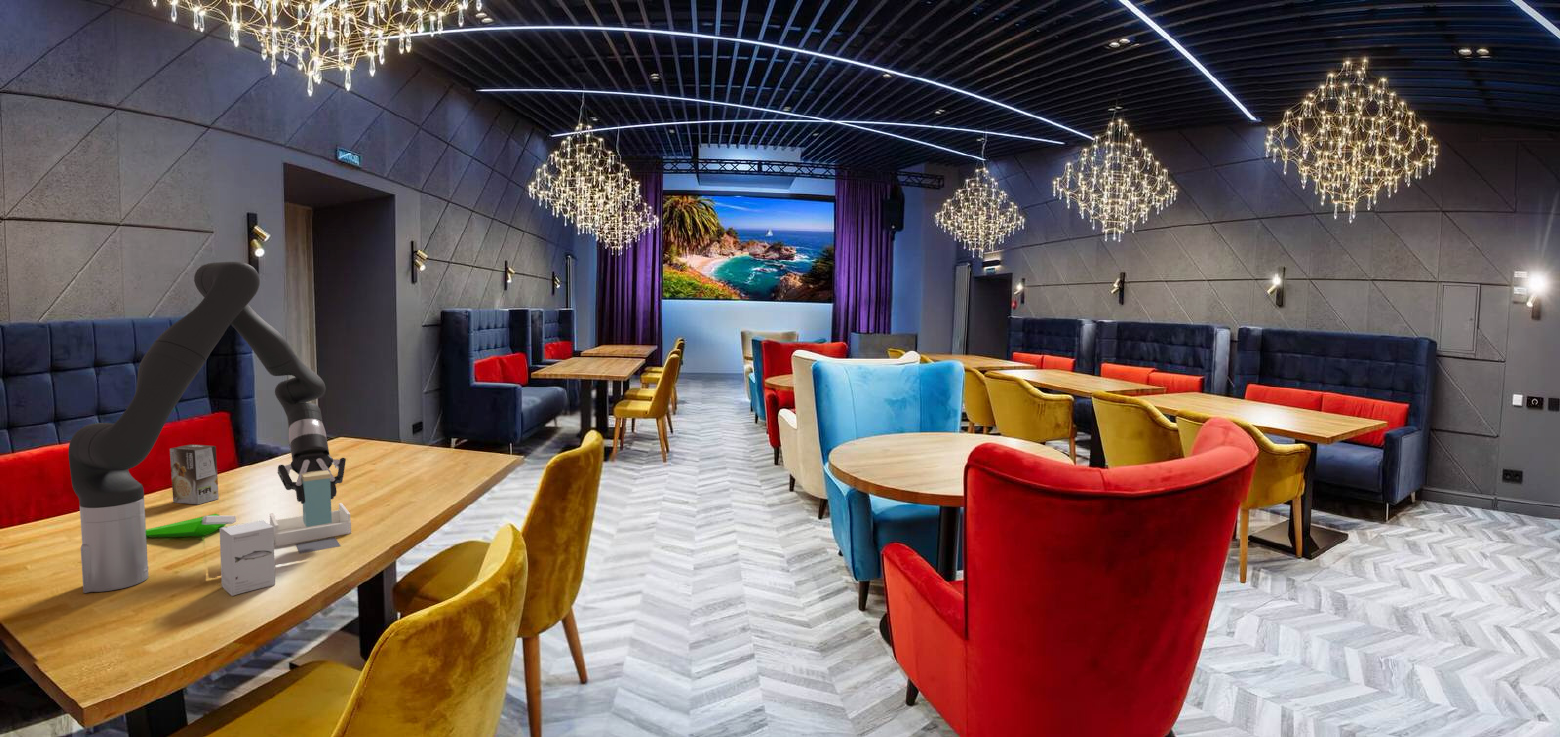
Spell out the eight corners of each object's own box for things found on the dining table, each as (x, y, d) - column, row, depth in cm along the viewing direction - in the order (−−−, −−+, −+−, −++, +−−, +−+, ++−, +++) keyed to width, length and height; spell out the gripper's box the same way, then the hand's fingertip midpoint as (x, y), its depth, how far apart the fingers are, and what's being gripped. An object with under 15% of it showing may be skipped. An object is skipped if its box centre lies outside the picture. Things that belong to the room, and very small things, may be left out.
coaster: (299, 555, 151) (299, 553, 151) (295, 546, 157) (295, 543, 157) (340, 548, 157) (340, 545, 157) (334, 539, 163) (334, 536, 163)
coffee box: (220, 498, 193) (217, 445, 192) (197, 505, 187) (195, 450, 186) (194, 496, 195) (191, 443, 193) (171, 502, 189) (168, 448, 187)
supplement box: (231, 597, 130) (228, 535, 129) (221, 587, 134) (218, 527, 133) (276, 585, 136) (274, 526, 134) (265, 576, 140) (263, 518, 139)
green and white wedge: (87, 554, 154) (205, 535, 158) (87, 531, 155) (205, 512, 159) (127, 552, 165) (236, 533, 169) (127, 530, 166) (236, 512, 170)
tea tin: (305, 527, 153) (303, 477, 152) (302, 521, 157) (300, 472, 156) (332, 522, 157) (330, 473, 156) (328, 517, 160) (326, 469, 159)
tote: (276, 548, 156) (275, 526, 155) (270, 534, 165) (269, 512, 165) (351, 535, 166) (350, 514, 165) (341, 522, 176) (341, 502, 175)
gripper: (272, 435, 156) (280, 496, 148) (344, 429, 165) (355, 486, 158) (271, 453, 160) (279, 513, 152) (341, 446, 170) (351, 502, 162)
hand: (317, 499), depth 155 cm, fingers closed on tea tin, 5 cm apart
